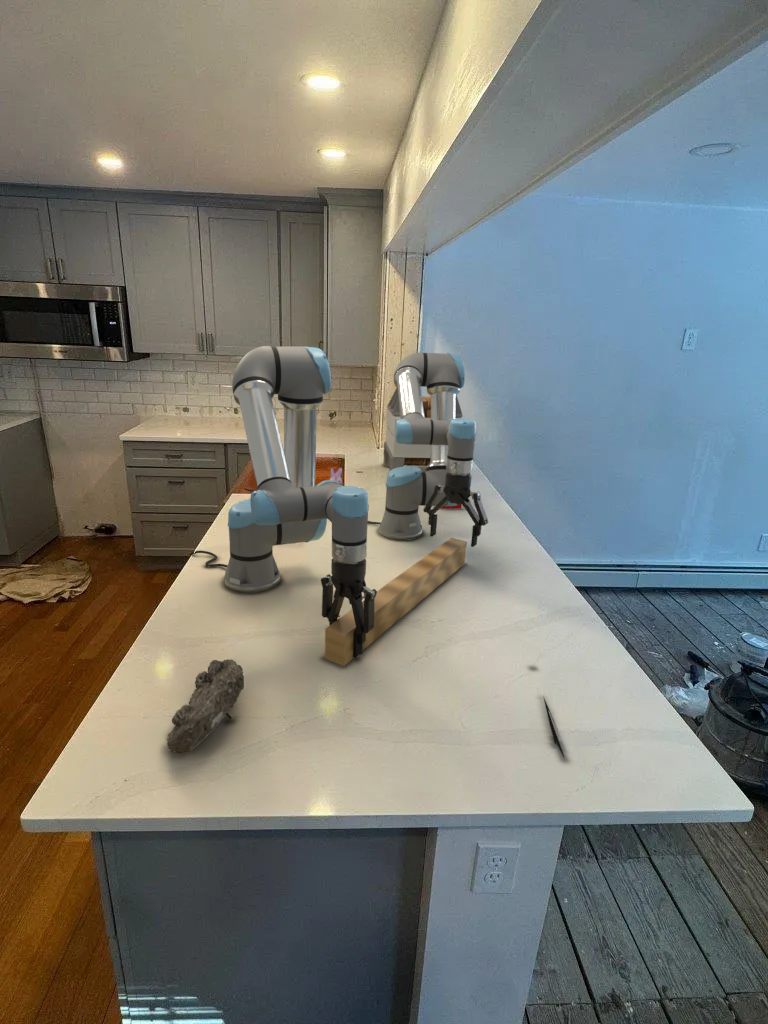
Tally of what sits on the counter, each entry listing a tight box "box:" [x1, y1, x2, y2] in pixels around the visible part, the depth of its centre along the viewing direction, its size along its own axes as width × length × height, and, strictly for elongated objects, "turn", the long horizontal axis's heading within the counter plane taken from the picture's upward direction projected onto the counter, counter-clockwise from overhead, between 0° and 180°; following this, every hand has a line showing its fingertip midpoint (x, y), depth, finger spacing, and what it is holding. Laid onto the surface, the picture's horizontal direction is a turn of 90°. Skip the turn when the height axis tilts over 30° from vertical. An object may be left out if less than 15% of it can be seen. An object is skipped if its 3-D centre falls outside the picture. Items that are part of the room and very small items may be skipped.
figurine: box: [329, 467, 344, 486], centre depth 223 cm, size 9×10×15 cm
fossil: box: [166, 658, 245, 754], centre depth 106 cm, size 22×10×15 cm
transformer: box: [383, 388, 463, 471], centre depth 268 cm, size 34×33×41 cm
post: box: [324, 537, 468, 667], centre depth 152 cm, size 66×5×8 cm, turn 149°
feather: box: [533, 666, 565, 758], centre depth 114 cm, size 2×28×2 cm
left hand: (346, 650), depth 130 cm, fingers closed on post, 5 cm apart
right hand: (452, 540), depth 172 cm, fingers open, 13 cm apart
